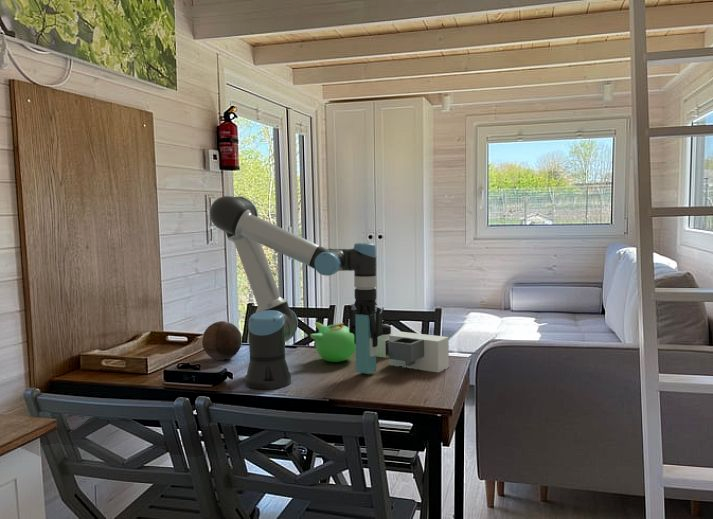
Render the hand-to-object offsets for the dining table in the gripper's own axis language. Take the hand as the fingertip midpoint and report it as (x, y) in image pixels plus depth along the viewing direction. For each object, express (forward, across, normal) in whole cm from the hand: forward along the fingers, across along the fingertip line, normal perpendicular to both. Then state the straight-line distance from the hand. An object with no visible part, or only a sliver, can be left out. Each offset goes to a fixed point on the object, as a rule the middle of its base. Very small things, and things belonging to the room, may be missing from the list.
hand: (365, 354), depth 203 cm
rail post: (+6, 0, 0) cm, 6 cm away
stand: (+7, -10, -19) cm, 22 cm away
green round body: (+7, +21, -9) cm, 24 cm away
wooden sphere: (+8, +60, +12) cm, 61 cm away
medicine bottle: (+7, +10, -26) cm, 29 cm away
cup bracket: (+5, -10, -10) cm, 15 cm away
